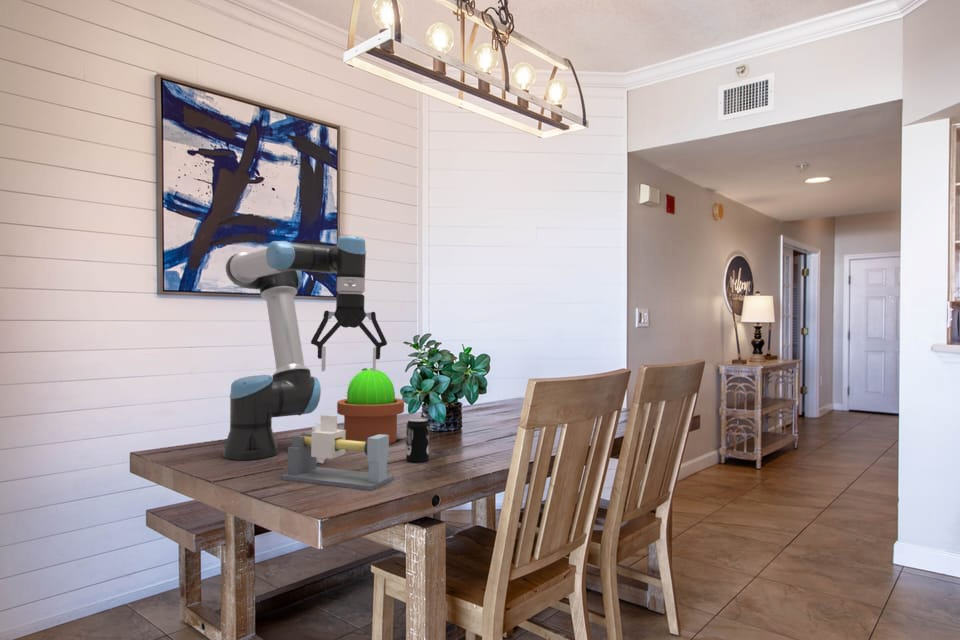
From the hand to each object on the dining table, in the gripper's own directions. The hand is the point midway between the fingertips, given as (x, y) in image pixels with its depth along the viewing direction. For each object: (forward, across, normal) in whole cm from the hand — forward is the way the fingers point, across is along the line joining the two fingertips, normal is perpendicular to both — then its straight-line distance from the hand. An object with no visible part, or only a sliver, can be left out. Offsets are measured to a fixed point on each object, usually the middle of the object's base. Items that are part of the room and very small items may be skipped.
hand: (348, 371), depth 166 cm
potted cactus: (+27, +5, +37) cm, 47 cm away
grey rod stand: (+26, -1, -12) cm, 29 cm away
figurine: (+27, -8, +10) cm, 30 cm away
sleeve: (+21, -4, -10) cm, 23 cm away
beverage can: (+27, +20, +8) cm, 34 cm away
